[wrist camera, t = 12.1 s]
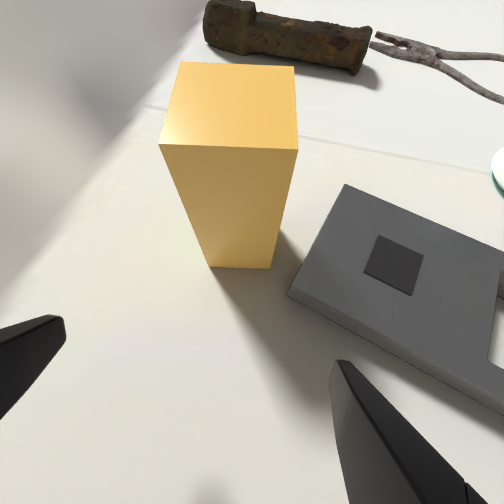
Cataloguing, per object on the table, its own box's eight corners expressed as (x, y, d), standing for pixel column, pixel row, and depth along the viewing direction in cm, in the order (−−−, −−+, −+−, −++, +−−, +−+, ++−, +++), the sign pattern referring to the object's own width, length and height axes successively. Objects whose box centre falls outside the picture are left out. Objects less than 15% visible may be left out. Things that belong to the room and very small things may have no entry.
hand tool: (360, 62, 29) (379, 11, 25) (356, 81, 28) (376, 31, 23) (213, 35, 31) (208, -16, 27) (202, 51, 30) (194, -1, 26)
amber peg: (269, 269, 18) (298, 149, 8) (208, 266, 18) (158, 143, 8) (270, 217, 20) (294, 66, 10) (214, 214, 20) (180, 61, 10)
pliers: (559, 111, 25) (364, 72, 27) (549, 119, 26) (361, 80, 28) (542, 60, 29) (373, 29, 31) (534, 68, 30) (370, 38, 32)
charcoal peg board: (661, 503, 13) (756, 535, 10) (285, 295, 17) (291, 284, 15) (644, 344, 16) (714, 340, 14) (333, 203, 20) (345, 182, 18)
